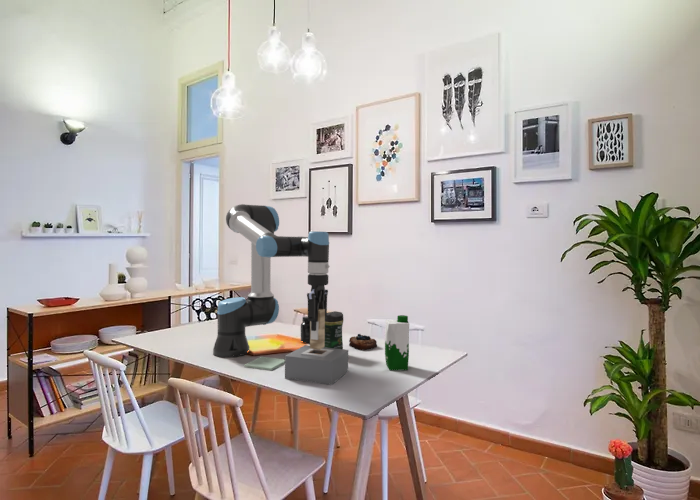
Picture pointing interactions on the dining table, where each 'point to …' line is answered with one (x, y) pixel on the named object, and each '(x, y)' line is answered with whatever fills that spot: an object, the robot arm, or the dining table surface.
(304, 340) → the supplement bottle
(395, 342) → the milk carton
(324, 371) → the grey socket block
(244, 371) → the dining table surface
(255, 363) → the mat
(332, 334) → the coffee jar
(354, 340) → the pastry
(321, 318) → the peg
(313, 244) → the robot arm
